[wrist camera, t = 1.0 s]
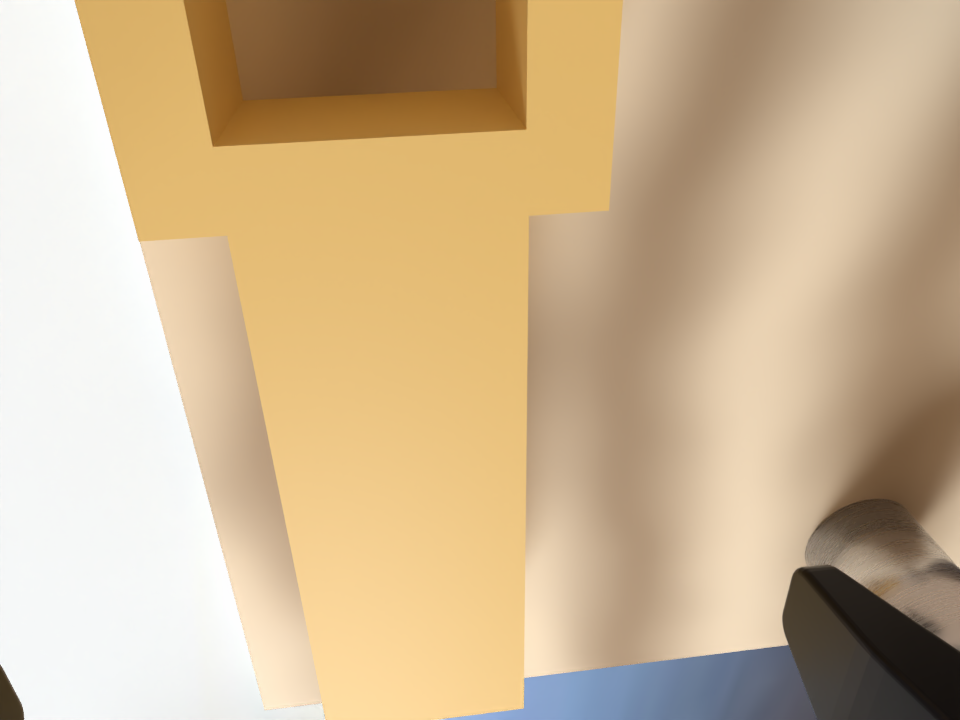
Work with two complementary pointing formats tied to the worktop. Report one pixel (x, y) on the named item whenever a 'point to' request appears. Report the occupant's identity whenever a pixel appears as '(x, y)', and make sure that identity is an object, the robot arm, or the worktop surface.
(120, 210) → the worktop surface
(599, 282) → the board
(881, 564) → the pintle
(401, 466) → the link
